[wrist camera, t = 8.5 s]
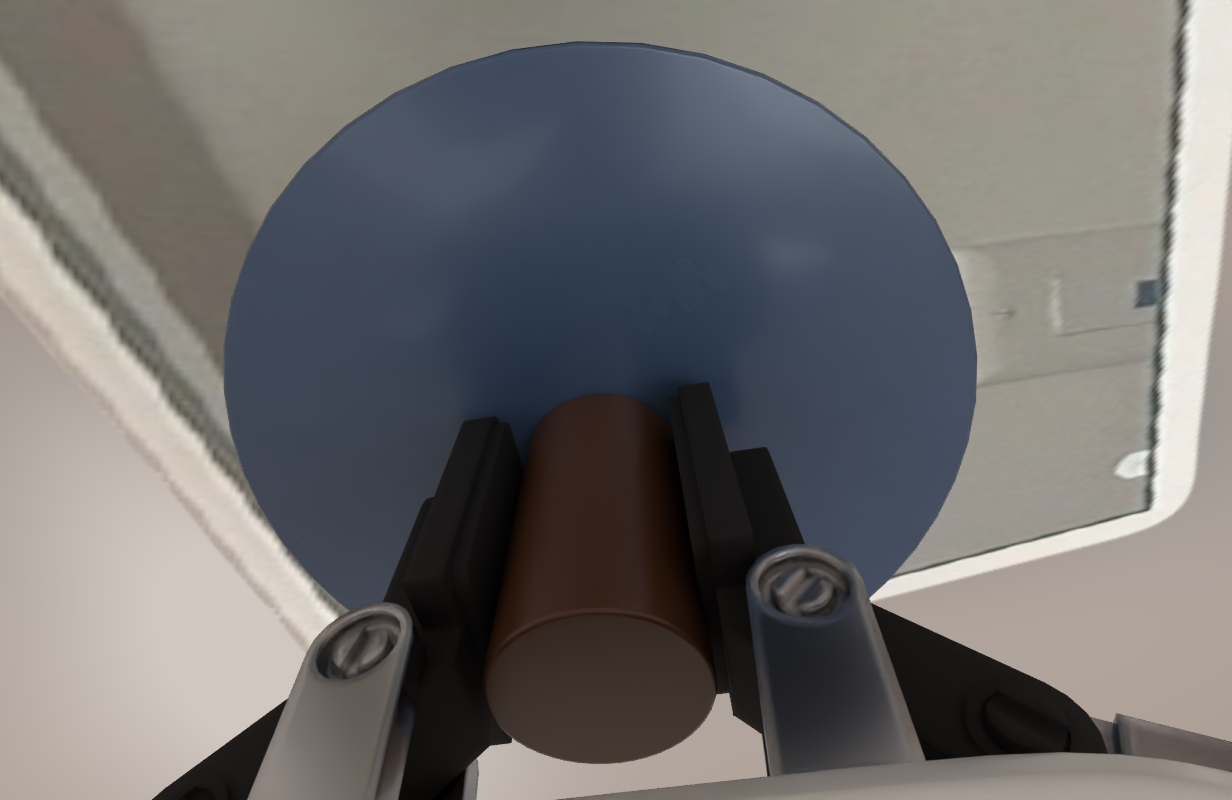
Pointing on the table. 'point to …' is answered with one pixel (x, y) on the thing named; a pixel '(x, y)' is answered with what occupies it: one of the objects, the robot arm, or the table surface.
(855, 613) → the robot arm
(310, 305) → the tin lid
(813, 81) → the table surface
